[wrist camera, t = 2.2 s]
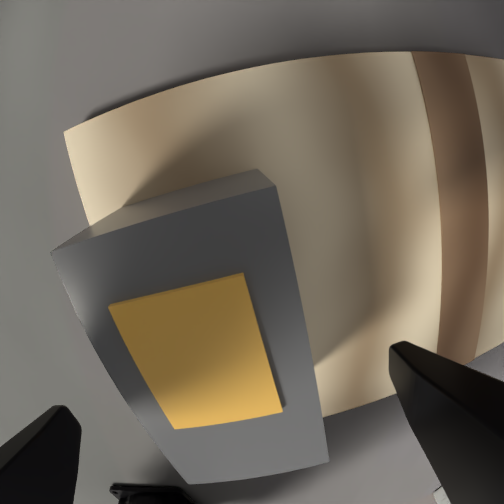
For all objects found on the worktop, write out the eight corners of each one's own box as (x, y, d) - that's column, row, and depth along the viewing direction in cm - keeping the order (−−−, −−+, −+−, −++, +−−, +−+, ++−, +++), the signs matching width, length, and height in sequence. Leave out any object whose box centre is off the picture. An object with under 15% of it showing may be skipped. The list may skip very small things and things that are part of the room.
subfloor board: (195, 428, 16) (193, 442, 15) (75, 132, 10) (62, 131, 9) (502, 329, 15) (512, 338, 14) (495, 62, 10) (509, 60, 9)
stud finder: (197, 395, 14) (188, 487, 9) (121, 207, 11) (47, 253, 6) (304, 373, 13) (330, 465, 9) (257, 168, 10) (277, 186, 6)
